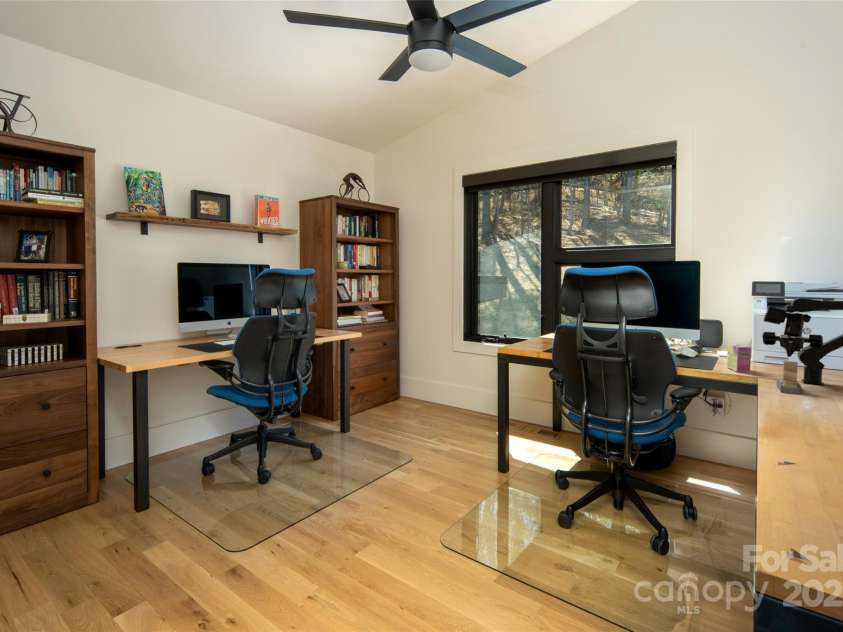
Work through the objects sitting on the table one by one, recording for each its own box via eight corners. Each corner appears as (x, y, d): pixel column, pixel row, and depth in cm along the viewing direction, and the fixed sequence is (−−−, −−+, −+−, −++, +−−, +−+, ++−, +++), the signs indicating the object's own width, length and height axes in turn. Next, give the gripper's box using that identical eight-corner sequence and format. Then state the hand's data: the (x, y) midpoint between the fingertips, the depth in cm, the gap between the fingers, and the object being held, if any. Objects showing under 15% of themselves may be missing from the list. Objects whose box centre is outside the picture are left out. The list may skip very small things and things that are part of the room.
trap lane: (776, 385, 184) (776, 378, 184) (795, 387, 181) (795, 380, 181) (780, 392, 174) (781, 385, 174) (801, 394, 171) (801, 386, 170)
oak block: (782, 383, 179) (783, 360, 178) (795, 384, 177) (796, 361, 176) (784, 385, 175) (785, 362, 175) (797, 387, 173) (798, 363, 173)
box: (750, 372, 210) (751, 347, 210) (736, 372, 212) (737, 346, 211) (739, 368, 221) (740, 344, 220) (726, 368, 222) (727, 343, 221)
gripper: (825, 340, 186) (820, 371, 180) (767, 336, 200) (761, 365, 193) (824, 322, 180) (819, 354, 173) (765, 320, 193) (759, 349, 187)
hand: (788, 356), depth 182 cm, fingers closed
